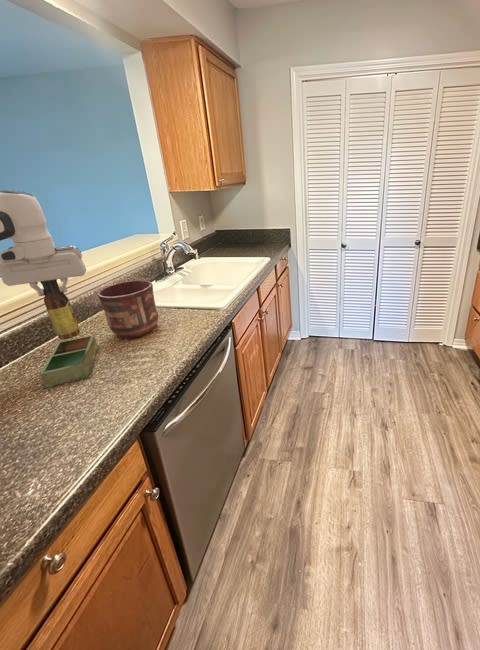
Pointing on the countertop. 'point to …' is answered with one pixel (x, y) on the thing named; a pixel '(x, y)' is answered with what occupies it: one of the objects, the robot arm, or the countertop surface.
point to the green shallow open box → (70, 361)
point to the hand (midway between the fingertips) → (53, 293)
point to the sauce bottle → (60, 310)
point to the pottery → (130, 308)
